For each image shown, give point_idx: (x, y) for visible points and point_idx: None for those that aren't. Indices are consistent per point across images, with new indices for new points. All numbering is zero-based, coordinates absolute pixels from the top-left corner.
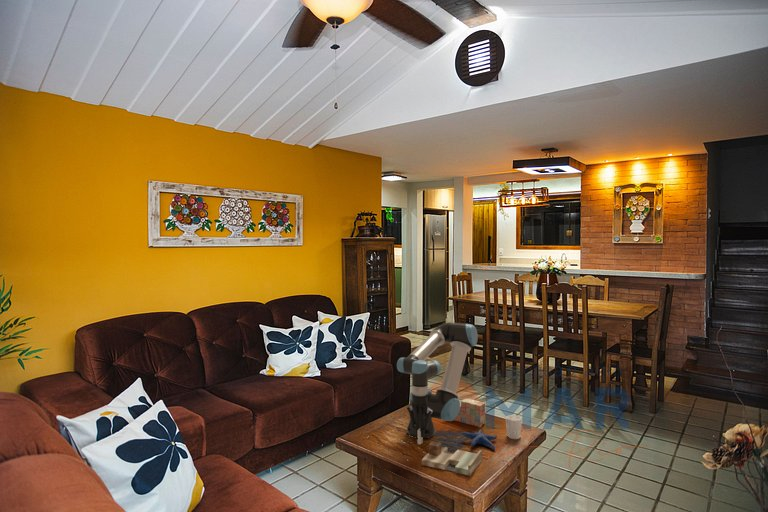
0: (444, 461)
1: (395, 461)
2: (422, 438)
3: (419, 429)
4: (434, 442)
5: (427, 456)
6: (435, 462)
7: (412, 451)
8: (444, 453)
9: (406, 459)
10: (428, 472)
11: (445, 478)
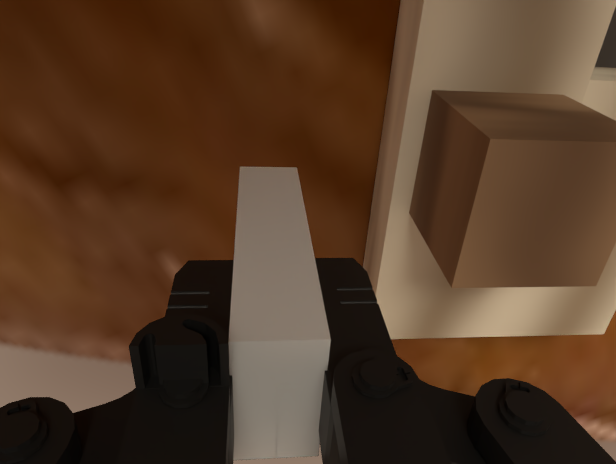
0: (603, 288)
1: (97, 348)
2: (302, 207)
3: (257, 402)
4: (534, 177)
5: (407, 268)
6: (512, 334)
7: (111, 65)
8: (606, 110)
9: (168, 277)
10: (445, 377)
11: (581, 391)
